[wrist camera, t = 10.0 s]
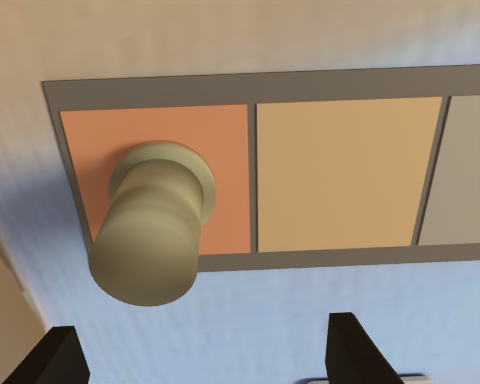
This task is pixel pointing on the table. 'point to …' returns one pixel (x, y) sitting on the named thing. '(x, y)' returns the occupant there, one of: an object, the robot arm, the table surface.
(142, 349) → the table surface
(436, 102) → the game board
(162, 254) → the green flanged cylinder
